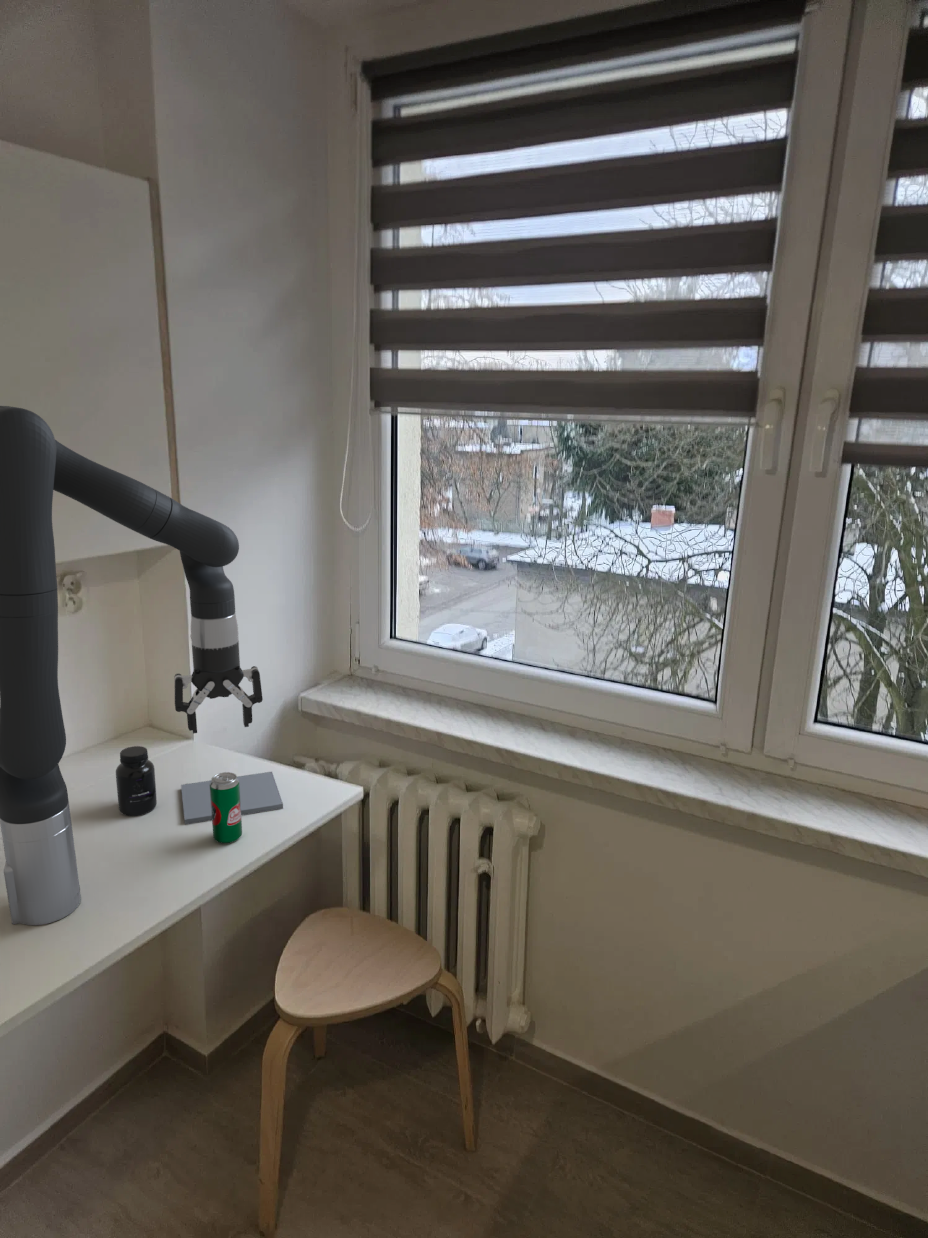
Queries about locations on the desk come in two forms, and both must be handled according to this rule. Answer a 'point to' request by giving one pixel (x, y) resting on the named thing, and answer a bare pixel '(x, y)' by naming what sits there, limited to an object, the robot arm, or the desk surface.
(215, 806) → the soda can
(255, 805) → the slate gray mat
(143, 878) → the desk surface
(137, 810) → the supplement bottle
